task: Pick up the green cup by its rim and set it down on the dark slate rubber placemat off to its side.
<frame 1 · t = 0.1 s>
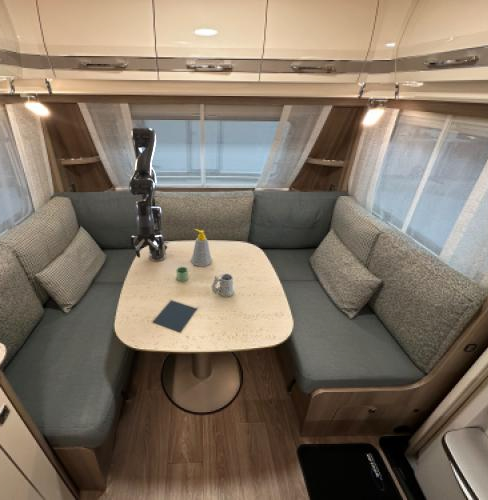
hand: (148, 256, 126), 22 cm above the table, tool pointing down, fingers open, 8 cm apart
mug: (222, 293, 138), on the table
placemat: (175, 315, 124), on the table
green cup: (182, 278, 149), on the table
soap bottle: (201, 261, 165), on the table
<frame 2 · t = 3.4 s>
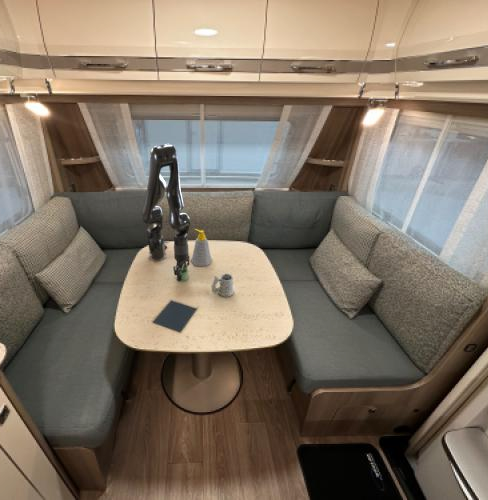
hand: (182, 276, 148), 1 cm above the table, tool pointing down, fingers closed on green cup, 6 cm apart
green cup: (182, 278, 149), on the table, touching gripper
everything else where it was.
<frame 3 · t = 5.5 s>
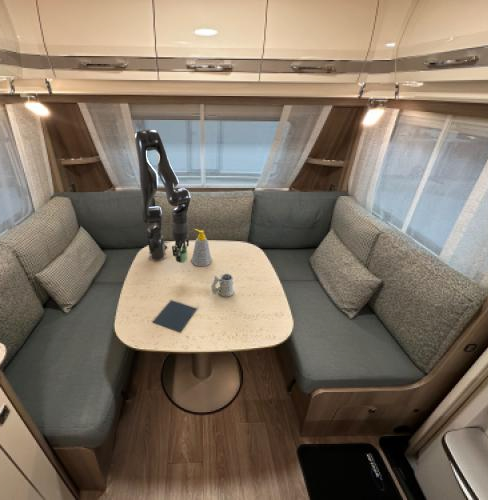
hand: (181, 258, 140), 14 cm above the table, tool pointing down, fingers closed on green cup, 6 cm apart
green cup: (181, 259, 141), point 13 cm above the table, touching gripper
everything else where it was.
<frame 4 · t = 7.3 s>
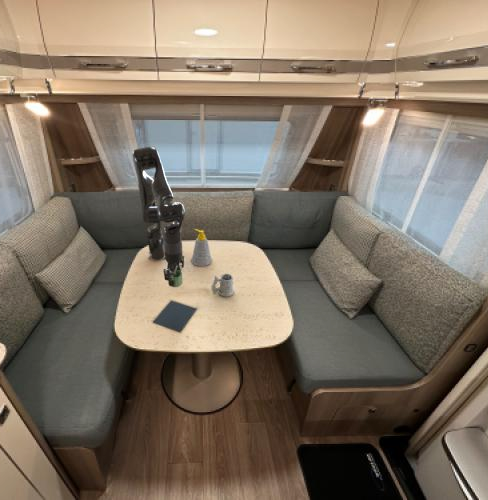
hand: (175, 281, 120), 16 cm above the table, tool pointing down, fingers closed on green cup, 6 cm apart
green cup: (175, 283, 120), point 15 cm above the table, touching gripper
everything else where it was.
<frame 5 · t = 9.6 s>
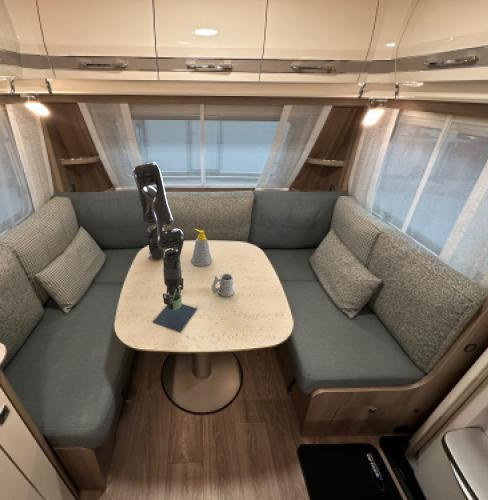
hand: (174, 304, 120), 7 cm above the table, tool pointing down, fingers closed on green cup, 6 cm apart
green cup: (174, 305, 121), point 6 cm above the table, touching gripper
everything else where it was.
when the fingers open (1 cm above the table, at t = 11.5 s): green cup stays where it is, resting on placemat.
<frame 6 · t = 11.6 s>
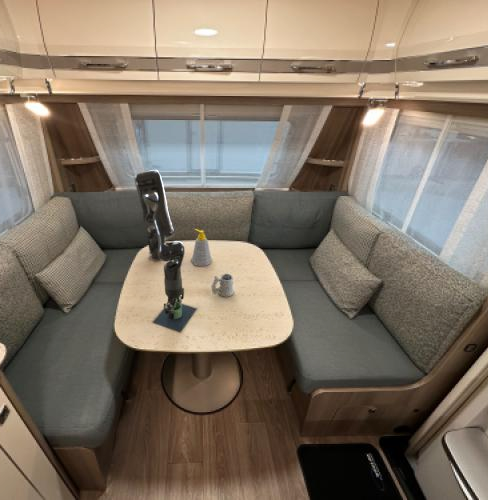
hand: (175, 313, 123), 1 cm above the table, tool pointing down, fingers open, 6 cm apart
green cup: (175, 315, 124), resting on placemat
everything else where it was.
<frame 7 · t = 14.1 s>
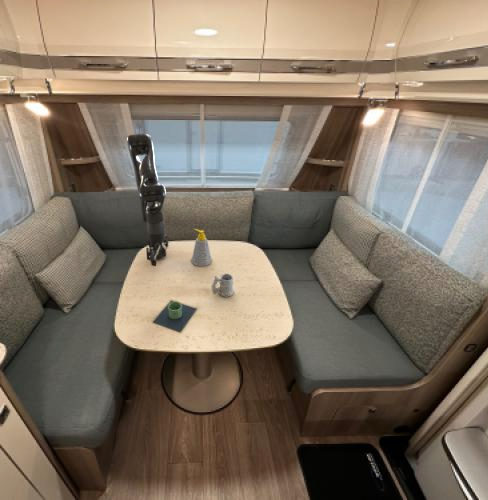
hand: (159, 260, 123), 22 cm above the table, tool pointing down, fingers open, 8 cm apart
nothing on the table moved.
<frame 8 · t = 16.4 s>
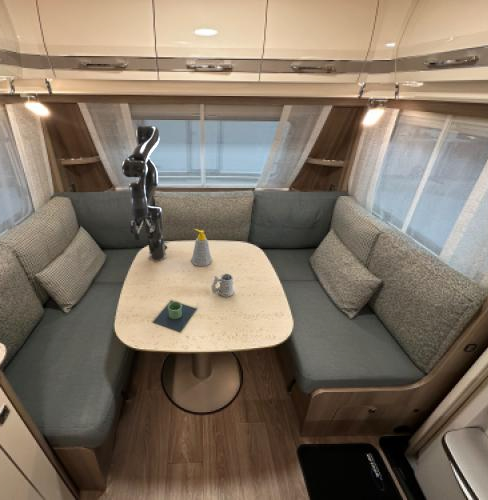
hand: (143, 236, 131), 28 cm above the table, tool pointing down, fingers open, 8 cm apart
nothing on the table moved.
at the end: green cup inside the target area on the placemat (0.0 cm from its centre), point 0.2 cm above the placemat's base; green cup tilted 0°; green cup moved 29.2 cm from its start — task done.
